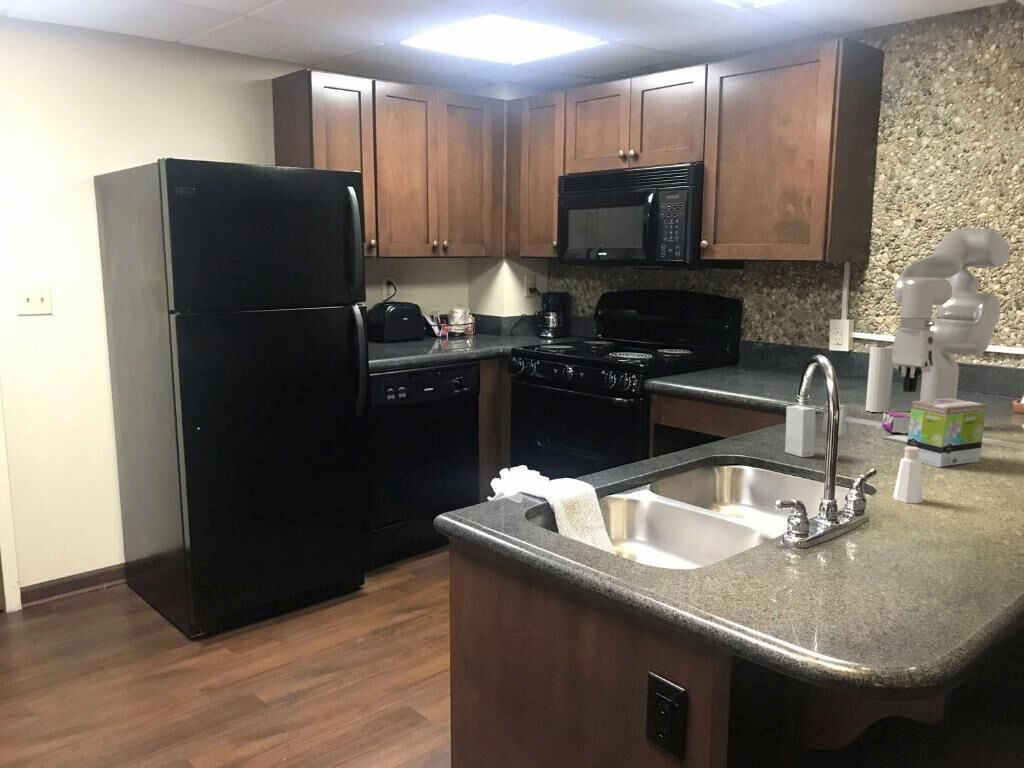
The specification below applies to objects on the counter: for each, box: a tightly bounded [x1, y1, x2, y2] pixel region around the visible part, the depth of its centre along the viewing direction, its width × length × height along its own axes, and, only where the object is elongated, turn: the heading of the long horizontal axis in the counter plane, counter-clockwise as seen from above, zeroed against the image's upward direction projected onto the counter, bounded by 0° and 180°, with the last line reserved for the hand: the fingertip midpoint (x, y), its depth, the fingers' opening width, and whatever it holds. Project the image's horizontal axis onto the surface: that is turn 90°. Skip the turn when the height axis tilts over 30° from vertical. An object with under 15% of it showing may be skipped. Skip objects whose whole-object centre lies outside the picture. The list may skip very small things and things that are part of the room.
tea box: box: [906, 398, 987, 468], centre depth 200 cm, size 15×10×15 cm
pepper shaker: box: [893, 445, 923, 505], centre depth 167 cm, size 5×5×11 cm
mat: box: [881, 433, 908, 444], centre depth 221 cm, size 13×16×1 cm
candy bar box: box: [881, 411, 911, 434], centre depth 231 cm, size 11×5×16 cm
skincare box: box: [784, 404, 817, 458], centre depth 205 cm, size 6×4×12 cm
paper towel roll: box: [865, 345, 894, 413], centre depth 263 cm, size 7×6×21 cm
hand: (909, 391), depth 224 cm, fingers closed
